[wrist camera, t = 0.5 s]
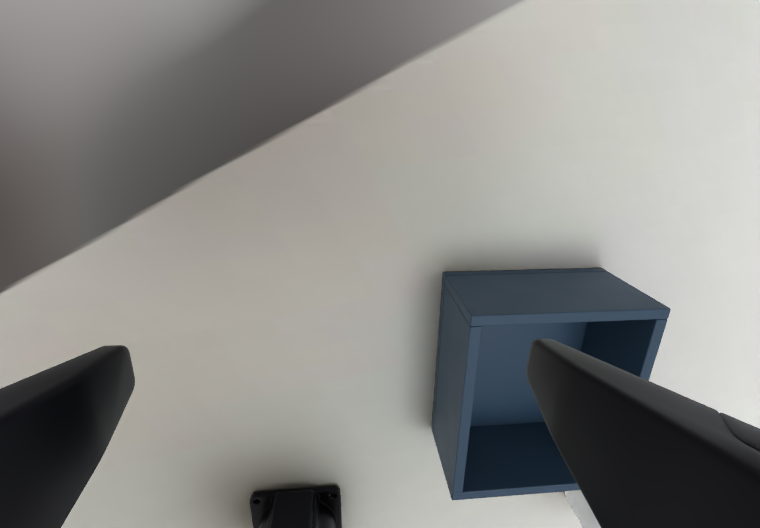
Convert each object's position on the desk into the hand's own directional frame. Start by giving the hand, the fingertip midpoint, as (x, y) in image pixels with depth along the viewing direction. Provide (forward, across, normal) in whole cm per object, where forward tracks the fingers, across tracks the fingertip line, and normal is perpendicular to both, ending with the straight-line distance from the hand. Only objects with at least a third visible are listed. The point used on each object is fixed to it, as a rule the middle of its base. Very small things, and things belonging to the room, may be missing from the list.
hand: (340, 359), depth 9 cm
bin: (+14, -12, +9) cm, 20 cm away
